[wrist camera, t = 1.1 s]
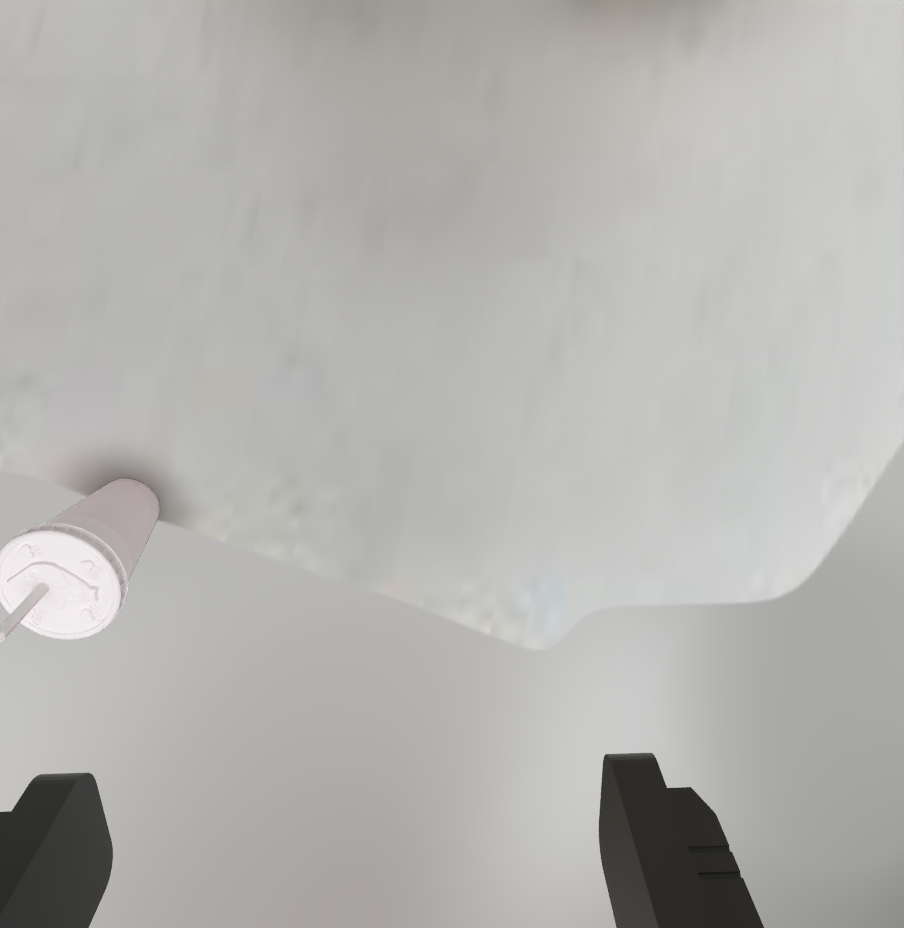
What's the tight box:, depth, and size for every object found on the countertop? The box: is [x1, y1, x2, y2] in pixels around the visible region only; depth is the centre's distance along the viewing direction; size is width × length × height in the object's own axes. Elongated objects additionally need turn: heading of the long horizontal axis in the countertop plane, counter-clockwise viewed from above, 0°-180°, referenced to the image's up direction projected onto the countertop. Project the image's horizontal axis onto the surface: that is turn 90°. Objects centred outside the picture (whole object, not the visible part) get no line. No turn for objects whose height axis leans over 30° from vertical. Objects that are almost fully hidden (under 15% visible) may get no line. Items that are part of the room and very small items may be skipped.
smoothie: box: [0, 479, 160, 642], centre depth 41 cm, size 6×6×14 cm
